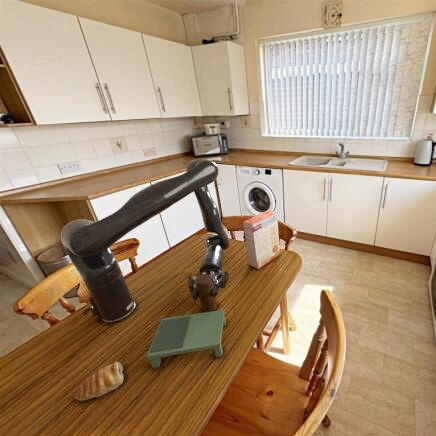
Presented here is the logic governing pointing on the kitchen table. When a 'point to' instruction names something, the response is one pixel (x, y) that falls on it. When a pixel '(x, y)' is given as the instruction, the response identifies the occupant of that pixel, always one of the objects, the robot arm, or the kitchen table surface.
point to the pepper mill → (205, 292)
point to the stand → (187, 335)
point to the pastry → (100, 382)
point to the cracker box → (262, 238)
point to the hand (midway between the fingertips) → (204, 296)
